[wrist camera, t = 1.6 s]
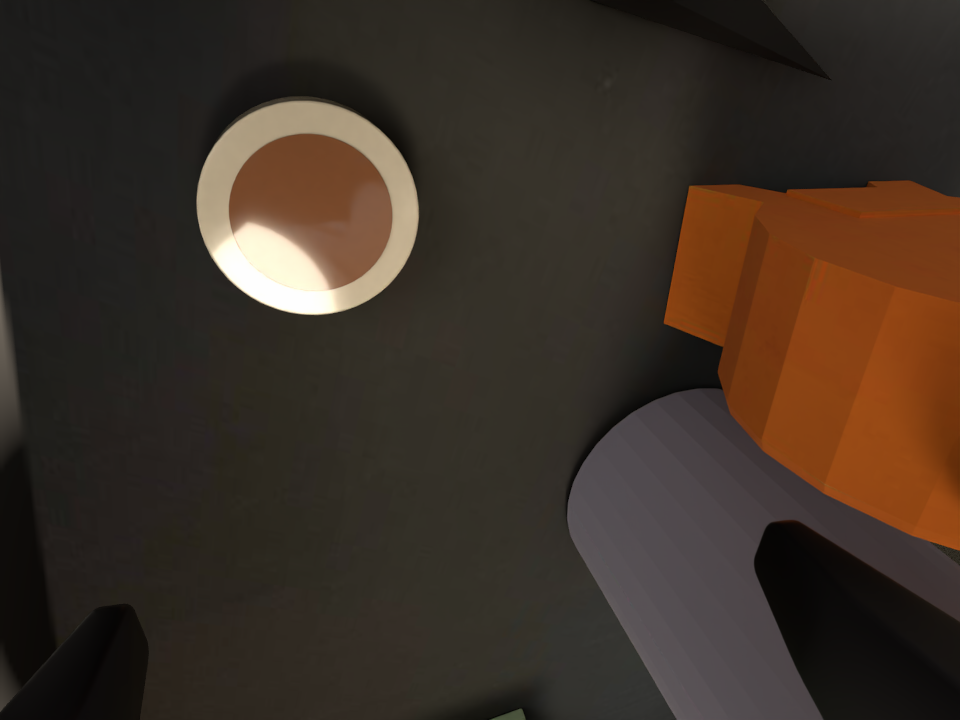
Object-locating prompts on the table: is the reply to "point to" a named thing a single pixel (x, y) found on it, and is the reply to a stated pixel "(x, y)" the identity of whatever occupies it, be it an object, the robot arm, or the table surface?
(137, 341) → the table surface
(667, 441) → the container
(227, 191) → the brown-topped cream cylinder
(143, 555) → the table surface
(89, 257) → the table surface
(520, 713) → the tub
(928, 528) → the alarm clock
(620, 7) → the kunai knife
